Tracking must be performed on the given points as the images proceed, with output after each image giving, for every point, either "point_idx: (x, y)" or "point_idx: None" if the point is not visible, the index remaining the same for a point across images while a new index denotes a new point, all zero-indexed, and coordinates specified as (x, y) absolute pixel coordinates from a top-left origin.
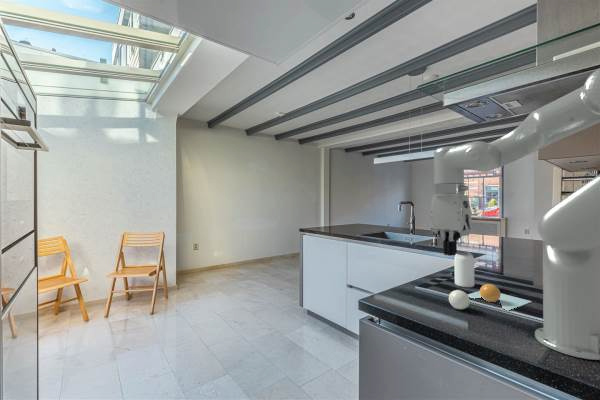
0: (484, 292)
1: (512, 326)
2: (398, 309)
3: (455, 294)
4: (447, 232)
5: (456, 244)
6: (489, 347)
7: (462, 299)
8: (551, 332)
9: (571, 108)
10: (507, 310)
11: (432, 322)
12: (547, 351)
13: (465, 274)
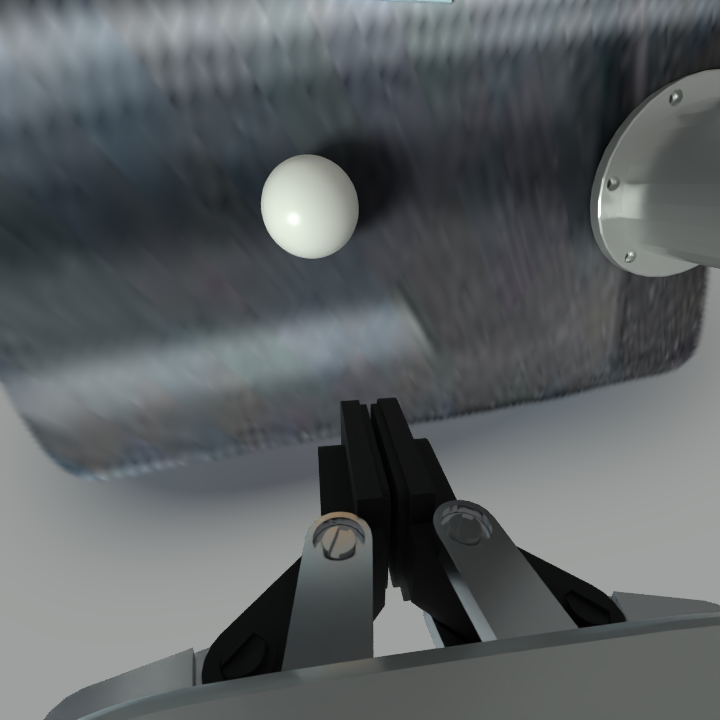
0: None
1: (517, 195)
2: (205, 423)
3: (315, 248)
4: (344, 653)
5: (450, 488)
6: (517, 395)
7: (348, 238)
8: (665, 255)
9: None
10: (448, 3)
11: None
12: (622, 290)
13: None
